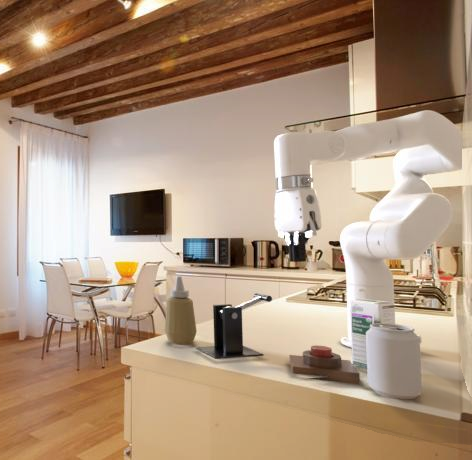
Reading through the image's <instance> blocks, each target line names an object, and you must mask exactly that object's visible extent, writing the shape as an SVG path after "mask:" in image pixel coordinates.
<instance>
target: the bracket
mask: <svg viewBox="0 0 472 460" xmlns="http://www.w3.org/2000/svg"><path fill="white" fill-rule="evenodd" d="M227 306H229V307H227ZM212 308H213V309H212V312H213V314H212V315H213V345H210V346H208V345H207V346H196V347H195V349H196V350H198V351H200V352H202V353H204V354H206V355H207V356H209V357H211V358H213V359H215V360H216V359H217V360H218V359H219V360H220V359H233V358H246V357H260V356H261V357H262V356H263V357H264V354H263V353H262V352H259V351H258V350H257V351H256V350H255V349H252V348H249V347H247V346H244V341H243V339H244V338H243V337H244V336H243V335H244V333H243V310H242V307H236V306H233V305H232V304H230V303H226V304H213V305H212ZM221 309H222V314H223V320H222V319H221V316H220V314H219V311H218V310H221Z"/></svg>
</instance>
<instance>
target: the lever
mask: <svg viewBox="0 0 472 460" xmlns="http://www.w3.org/2000/svg"><path fill="white" fill-rule="evenodd" d="M272 301H273V297H272V296H271V295H268V294H262V293H257V292H256V293H254V294H253V298H251V299H249V300H247V301H245V302H242V303H241V304H238V305H236V306H235V307H242V311H243V310H245V309H248V308H250V307H252V306H255V305H256V304H258V303H260V302H266V303H267V302H268V303H270V302H272ZM227 307H229V306H227ZM218 311H219V314H220V316H221V319H222V320H223V314H222V309H221V310H218Z"/></svg>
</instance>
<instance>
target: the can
mask: <svg viewBox="0 0 472 460" xmlns="http://www.w3.org/2000/svg"><path fill="white" fill-rule="evenodd" d="M370 327H371V328H370V329H369V330H368V331H367V332H366V351H367V368H366V375H367V386H368V387H369V388H371V390H373V391H374V393H376V394H378V395H381V396H383V397H388V398H393V399H398V400H413V399H414V400H415V399H416V398H417V397H419V396H420V395H422V394H423V387H422V384H423V383H422V362H421V361H422V359H421V343H420V338H419V337H418V336H417V335H418V334H417V333H415V332H414V331H415V330H416V329H415V328H414V327H412V326H408V325H405V324H397V323H395V324H388V323H374V324H370Z"/></svg>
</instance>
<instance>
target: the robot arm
mask: <svg viewBox="0 0 472 460" xmlns="http://www.w3.org/2000/svg"><path fill="white" fill-rule="evenodd" d="M463 133H464V131H462V130H461V129H460V128H459V127H458V126H456V124H454V123H453V122H452V121H451V120H450V119H448V118H447V117H446V116H444V115H443V114H441V113H439V112H437V111H435V110H429V109H425V110H421V111H416V112H414V113H409V114H406V115H402V116H397V117H393V118H389V119H383V120H382V119H381V120H378V121H372V122H365V123H359V124H355V125H351V126H346V127H344V128H342V129H341V128H340V129H338V130H322V131H321V130H320V131H316V132H314V131H313V132H305V131H292V132H286V133H282V134H280V135H277V136H276V137H275V138H274V140H273V154H274V155H273V156H274V170H275V171H274V172H275V173H274V174H275V177H274V178H275V195H274V196H275V197H274V204H273V205H274V206H273V207H274V208H273V211H274V212H273V216H274V217H273V219H274V220H273V221H274V222H273V223H274V229H275V230H276V231H277V232H278V233H277V236H278V237H279V238H283V239H284V240H285V243H286V245H287V246H288V254H289V255H288V257H289V262H291V263H293V262H294V263H301V262H307V250H306V247H307V246H306V245H308V241H309V240H310V238H314V237H317V235H318V233H317V231H318V232H319V231H320V230H321V229H322V216H321V215H322V214H321V206H320V201H319V197H318V194H317V191H316V188H313V182H314V178H313V176H312V175H313V174H312V171H313V170H312V166H317V165H323V164H328V163H335V162H336V163H337V162H342V161H352V160H357V159H362V158H368V157H373V156H378V155H383V154H389V153H394V152H397V153H396V154H395V156H394V157H393V160H392V171H393V175H394V182H395V183H394V186H393V187H392V189H391V190H390V191H388V193H387V194H386V195H385V196H384V197H382V199H381V200H380V201H378V203H376V204H375V206H374V207H373V208H372V210H371V211H370V214H369V220H362V221H356V222H352V223H350V224H348V225H346V226H345V227H344V228H343V229H342V230H341V232H340V235H339V244H340V249H341V252H342V256H343V260H344V266H345V267H344V268H345V285H346V287H345V289H346V312H347V313H346V315H347V336H342V337H341V338H340V343H341V344H342V345H343V346H345V347H348V348H351V349H352V345H351V318H350V301H351V300H354V299H368V300H377V301H386V302H394V303H395V286H394V285H395V283H394V282H395V281H394V275H393V273H392V271H391V269H390V267H389V265H388V264H387V263H386V261H385V260H389V261H390V260H392V261H411V260H415V259H417V258H420V257H421V256H422V255H424V254H425V253H426V252H427V250H429V248H431V247H432V245H433V244H434V243H435V242H436V241H437V240H438V239H439V238H440V237H441V236H442V235H443V234H444V233H445V231H446V230H447V229H448V228H449V226H450V224H451V222H452V219H453V207H452V203H451V202H450V200H449V199H448V198H447V197H445V196H444V195H442V194H439V193H434V190H433V188H432V186H431V185H430V184H429V183H428V182H427V181H426V179H425V176H429V175H436V174H437V175H438V174H444V173H452V172H458V171H462V148H463ZM416 335H417V336H418V337H419V338H420V344H422V336H421V334H416Z"/></svg>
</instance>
